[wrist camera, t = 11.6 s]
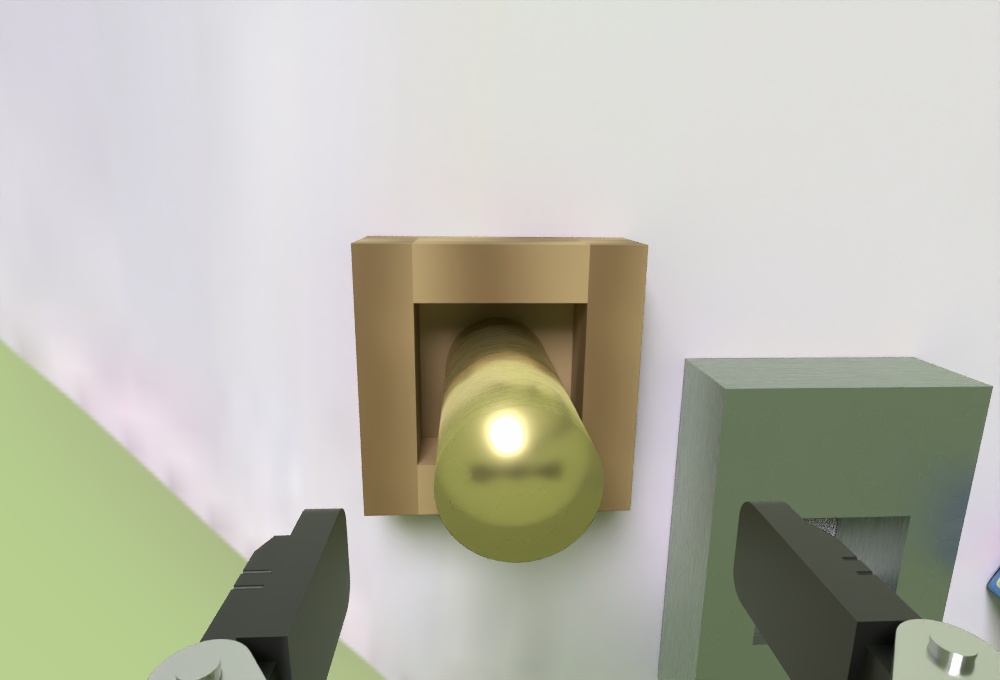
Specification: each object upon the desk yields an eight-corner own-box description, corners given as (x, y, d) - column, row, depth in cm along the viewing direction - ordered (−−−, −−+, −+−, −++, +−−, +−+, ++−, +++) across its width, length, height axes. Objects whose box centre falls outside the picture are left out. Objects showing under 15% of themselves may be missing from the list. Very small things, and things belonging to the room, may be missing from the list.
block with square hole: (913, 357, 26) (993, 386, 22) (856, 669, 30) (916, 741, 26) (685, 358, 25) (725, 388, 21) (657, 677, 29) (687, 752, 25)
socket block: (622, 237, 24) (648, 245, 20) (608, 469, 26) (630, 510, 23) (367, 236, 23) (351, 243, 20) (377, 473, 26) (364, 515, 22)
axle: (548, 316, 23) (608, 405, 14) (545, 413, 24) (599, 560, 15) (445, 317, 23) (431, 407, 13) (446, 414, 24) (435, 565, 14)
